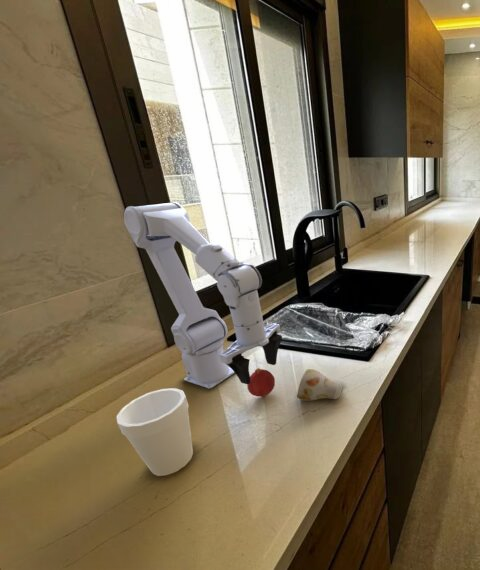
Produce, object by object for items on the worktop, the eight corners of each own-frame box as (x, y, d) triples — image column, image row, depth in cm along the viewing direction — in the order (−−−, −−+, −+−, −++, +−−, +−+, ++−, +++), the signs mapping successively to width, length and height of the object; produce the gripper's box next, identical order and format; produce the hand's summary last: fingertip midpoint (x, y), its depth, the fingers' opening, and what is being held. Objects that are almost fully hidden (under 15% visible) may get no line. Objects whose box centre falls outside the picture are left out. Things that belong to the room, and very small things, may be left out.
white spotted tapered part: (342, 407, 75) (315, 381, 70) (310, 416, 78) (282, 392, 73) (351, 381, 81) (326, 355, 76) (320, 390, 84) (295, 366, 79)
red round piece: (256, 388, 81) (250, 361, 78) (280, 387, 81) (275, 360, 78) (246, 405, 75) (239, 376, 72) (272, 403, 76) (266, 375, 73)
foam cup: (153, 493, 55) (128, 435, 51) (131, 467, 60) (107, 412, 55) (212, 453, 63) (195, 399, 58) (188, 433, 67) (171, 381, 63)
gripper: (232, 340, 63) (246, 396, 68) (286, 309, 76) (295, 359, 81) (206, 333, 65) (221, 388, 70) (263, 305, 78) (272, 353, 83)
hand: (259, 372), depth 76 cm, fingers open, 7 cm apart
